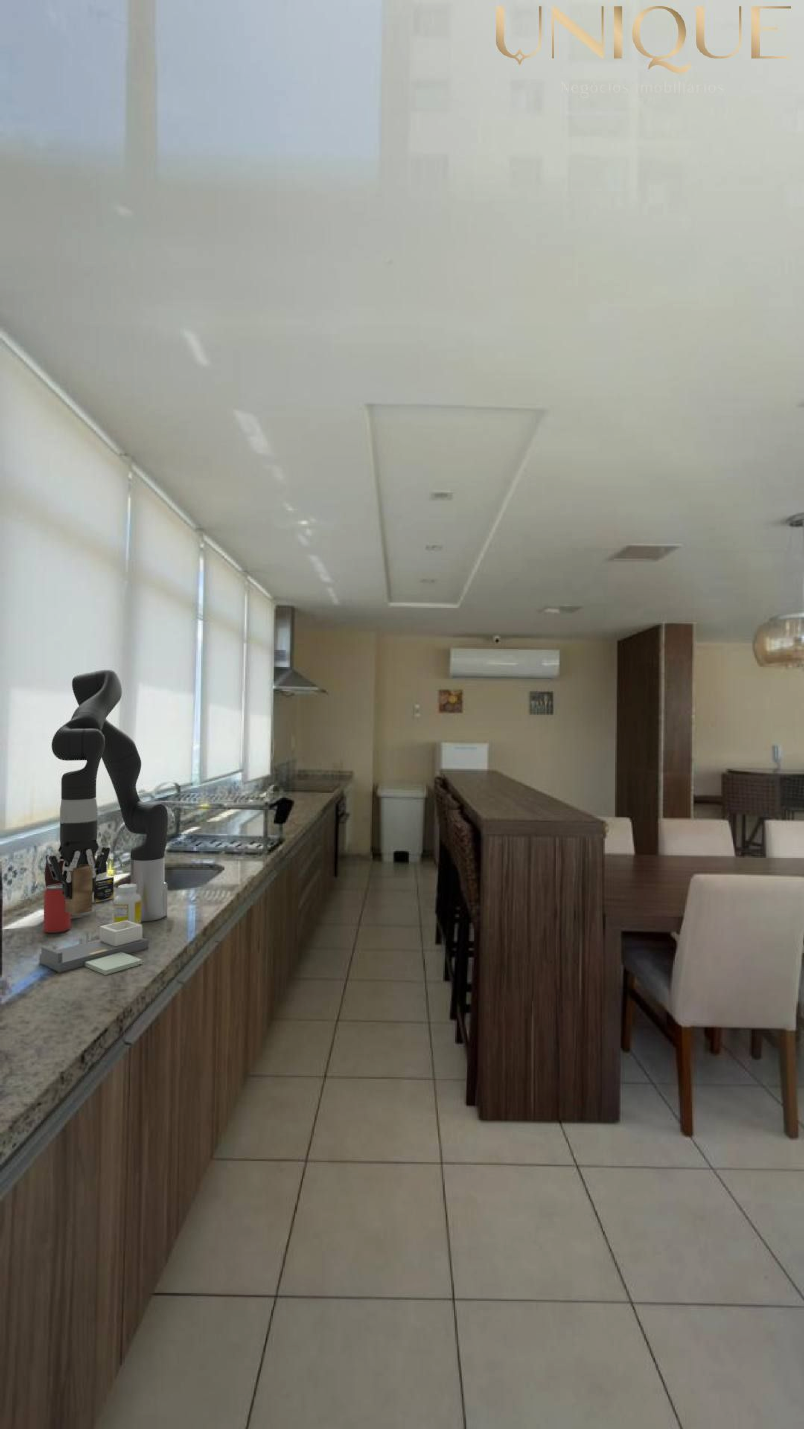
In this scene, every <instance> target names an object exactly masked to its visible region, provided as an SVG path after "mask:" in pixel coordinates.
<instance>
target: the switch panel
mask: <svg viewBox="0 0 804 1429" xmlns="http://www.w3.org/2000/svg"><path fill="white" fill-rule="evenodd" d="M149 942H150V940H149V939H148V938H144V937H142V939H141V940H138V941H134V942H130V943H126V944H122V945H119V946H113V945H110V944H107V943H104V942H102V941H100V938H99V939H95V940H91V941H88V942H84V943H79V944H75V945H72V946H68V947H63V948H60V949H59V948H58V949H55V948H52V947H50V946H48V945H43V946H41V948H40V949H41V951H40V952H41V953H39V956H38V959H39V960H38V962H39V964H41V965H43V966H45V967H46V968H49V969H50V970H53V971H55V972H58V973H63V972H66V971H70V970H73V969H78V968H81V967H85V962H87V961H90V960H94V959H98V958H101V957H105V956H109V955H112V954H116V953H120V952H123V953H126V954H128V955H129V954H131V953H132V954H133V953H135V952H138V951H142V950H146V949H149V948H150V947H149V946H150V945H149Z"/></svg>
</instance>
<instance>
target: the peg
mask: <svg viewBox="0 0 804 1429" xmlns="http://www.w3.org/2000/svg"><path fill="white" fill-rule="evenodd" d="M71 882H72V899H69V900H68V899H65V912H67V913H70V914H73V915H76V914H81V913H85V912H90V911H92V908H93V903H92V865H91V866H88V865H87V864H86V865H83V864H81V865H78V866H76V868H74V871H73V877H72V881H71Z"/></svg>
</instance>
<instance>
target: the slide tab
mask: <svg viewBox="0 0 804 1429" xmlns="http://www.w3.org/2000/svg"><path fill="white" fill-rule="evenodd" d="M142 938H143V924H141V925H140V924H137V923H134V922H131V921H128V920H125V921H121V922H117V923H114V922H113V923H109V924H104V925H100V926H99V939H100V941H102V942H104V943H107V944H110V945H113V946H119V945H122V944H126V943H130V942H134V941H138V940H141V939H142Z"/></svg>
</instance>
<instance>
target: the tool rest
mask: <svg viewBox="0 0 804 1429" xmlns="http://www.w3.org/2000/svg"><path fill="white" fill-rule="evenodd" d="M139 964H141V965H143V959H141V958H138V957H136V956H134V955H131V954H129V953H128V954H126V953H123V952H120V953H116V954H112V955H109V956H105V957H101V958H98V959H94V960H90V961H87V962H85V966H84V967H85V968H87V969H91V971H95V972H97V973H100V974H102V975H104V976H107V975H110V974H113V973H117V972H120V971H123V970H127V969H129V968H130V967H131V968H133V967H136V966H140V965H139Z"/></svg>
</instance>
